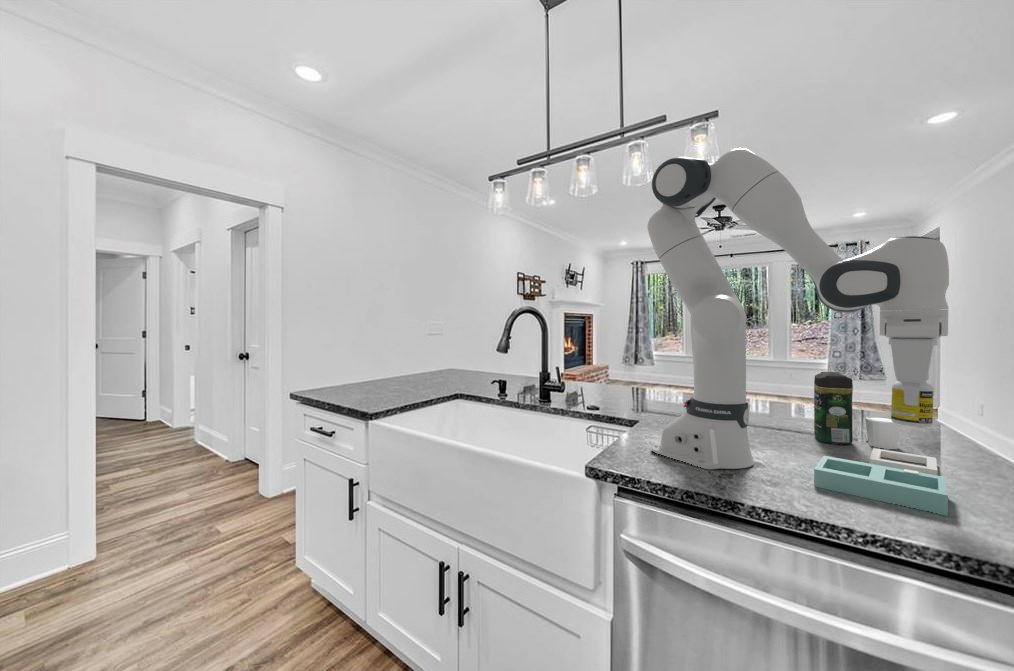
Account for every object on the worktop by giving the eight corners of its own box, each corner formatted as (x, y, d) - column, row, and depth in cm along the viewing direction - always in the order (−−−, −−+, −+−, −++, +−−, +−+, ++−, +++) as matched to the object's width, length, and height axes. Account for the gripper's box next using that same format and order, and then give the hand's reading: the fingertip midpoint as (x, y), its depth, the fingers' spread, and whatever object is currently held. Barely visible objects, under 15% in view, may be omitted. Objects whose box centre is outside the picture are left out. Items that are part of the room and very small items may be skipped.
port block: (814, 486, 81) (814, 468, 81) (823, 471, 89) (823, 454, 88) (947, 516, 68) (947, 494, 68) (944, 495, 76) (945, 475, 76)
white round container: (908, 451, 101) (909, 423, 101) (876, 449, 102) (876, 422, 102) (888, 442, 108) (889, 416, 107) (858, 441, 109) (859, 415, 109)
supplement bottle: (923, 429, 71) (924, 373, 71) (884, 422, 76) (885, 370, 76) (939, 425, 73) (940, 371, 73) (900, 419, 78) (901, 368, 78)
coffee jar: (811, 434, 117) (811, 369, 116) (846, 437, 113) (847, 370, 112) (817, 443, 108) (818, 373, 108) (856, 447, 104) (856, 375, 104)
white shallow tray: (869, 465, 92) (869, 458, 92) (873, 454, 99) (873, 448, 99) (937, 477, 84) (937, 470, 84) (935, 464, 91) (936, 457, 91)
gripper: (891, 325, 84) (890, 392, 84) (885, 327, 69) (884, 408, 70) (936, 325, 79) (935, 395, 80) (939, 327, 65) (938, 413, 65)
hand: (911, 401), depth 75 cm, fingers closed on supplement bottle, 5 cm apart
